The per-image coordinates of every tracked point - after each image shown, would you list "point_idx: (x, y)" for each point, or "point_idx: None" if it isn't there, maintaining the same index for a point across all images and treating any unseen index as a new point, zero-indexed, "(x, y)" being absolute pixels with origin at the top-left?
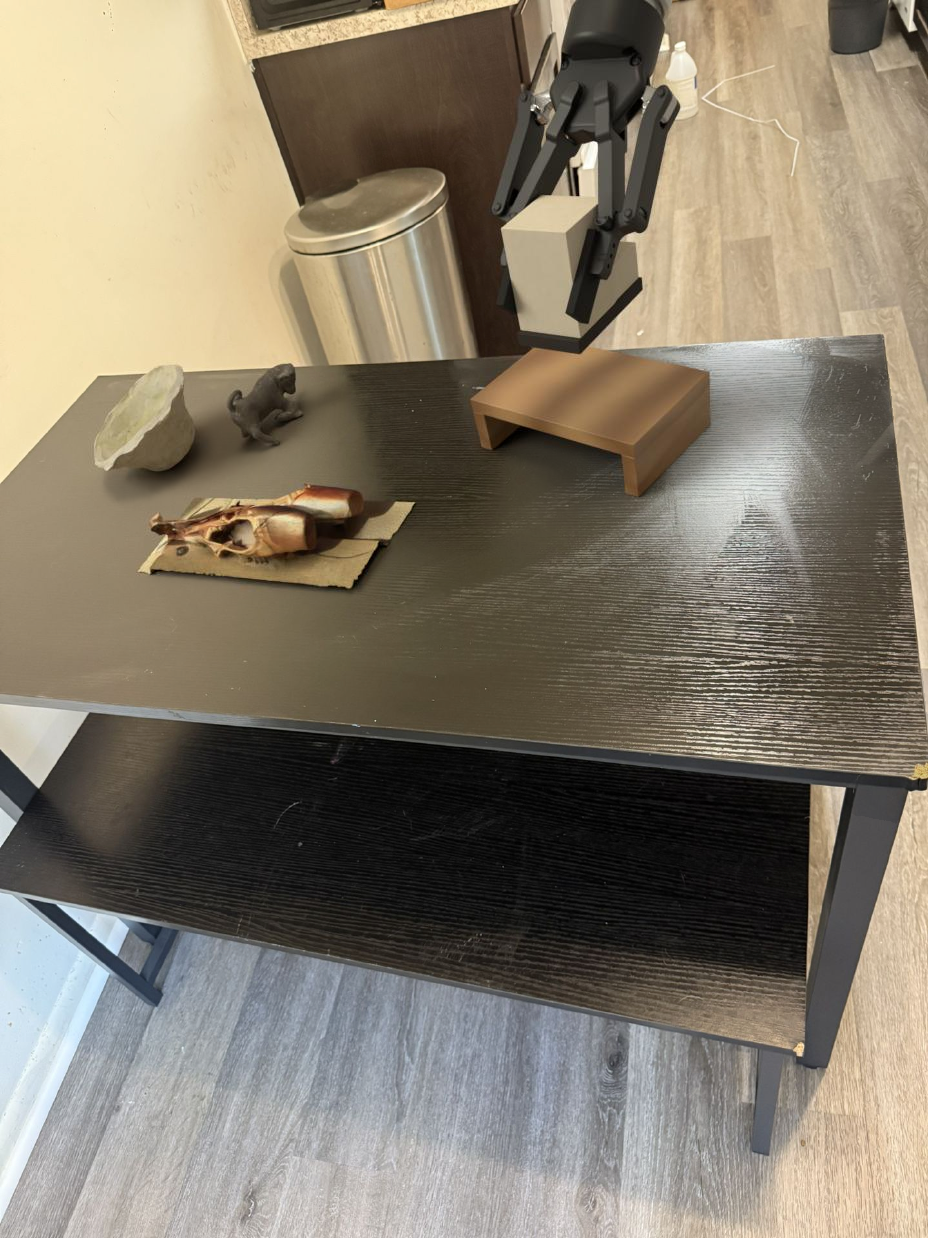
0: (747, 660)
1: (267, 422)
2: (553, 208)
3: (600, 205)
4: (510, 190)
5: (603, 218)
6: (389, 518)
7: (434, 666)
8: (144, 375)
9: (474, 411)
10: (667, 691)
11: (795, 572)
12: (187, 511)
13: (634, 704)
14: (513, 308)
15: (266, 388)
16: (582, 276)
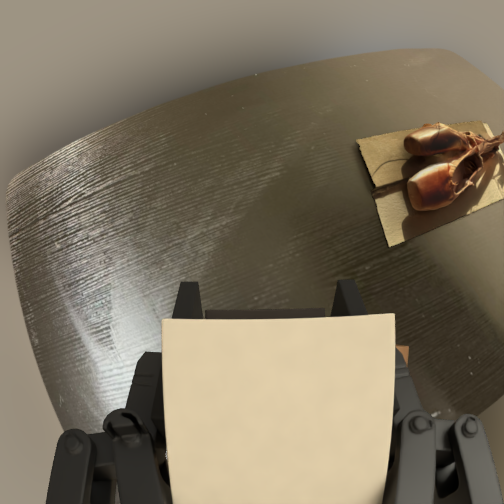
0: (69, 203)
1: None
2: (295, 455)
3: (149, 473)
4: (461, 473)
5: (116, 422)
6: (393, 220)
7: (249, 113)
8: None
9: (400, 345)
10: (102, 162)
11: (64, 287)
12: None
13: (116, 145)
14: (333, 308)
15: None
16: None
